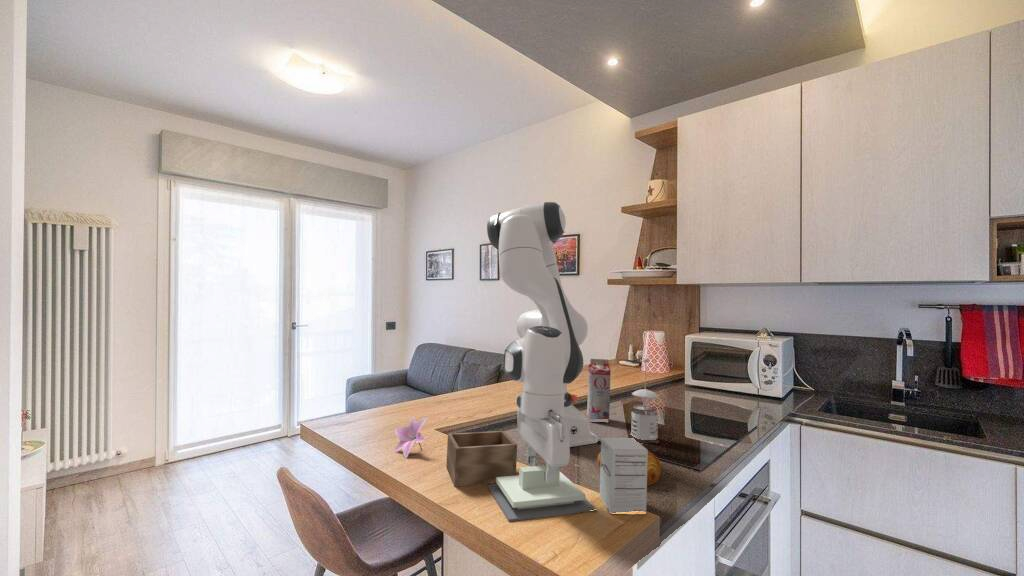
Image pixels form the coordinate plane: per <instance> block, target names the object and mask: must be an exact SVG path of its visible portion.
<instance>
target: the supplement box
mask: <svg viewBox="0 0 1024 576" xmlns="http://www.w3.org/2000/svg"><path fill="white" fill-rule="evenodd" d="M648 451H649V450H648V448H646V447H645V446H643V445H642V443H639V442H637V441H636V440H635V439H634V438H628V437H601V441H600V452H601V467H600V468H599V469H600V473H599V478H600V479H599V499H600V498H601V499H602V500H603V501H602V500H601V499H600V500H601V501H602V502H604V503H605V504H604V503H603V504H604V506H605V505H606V506H607V507H606V506H605V507H606V509H607V508H608V509H609V510H608V509H607V510H608V512H609V511H610V512H611V513H616V512H629V511H630V512H631V511H644V512H646V513H647V496H648V495H647V491H648V486H647V462H648ZM610 512H609V513H610Z"/></svg>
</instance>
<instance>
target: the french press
mask: <svg viewBox="0 0 1024 576" xmlns="http://www.w3.org/2000/svg"><path fill="white" fill-rule="evenodd" d="M642 362H643V363H645V368H644V371H645V372H644V388H643V389H637V390H634V391H633V392H631V394H632V396H634V397H636V398H640V399H642V403H643V404H635V405H633V406H632V408H633V410H631V423H630V424H631V425H630V427H631V428H630V429H631V430H630V431H631V432H630V435H632V436H633V437H635V438H637V439H641V440H656V439H657V438H659V437H658V436H659V435H658V434H659V433H658V431H659V427H658V426H659V414H658V412H656V411H657V410H658V409H657V408H656V407H655V406H651V405H649V404H648V405H646V402H647V403H649V402H650V400H652V399H653V400H655V399H658V398H659V397H660V396H659V395H658V393H656V392H655V391H652V390H649V389H647V387H646V386H647V385H646V380H647V363H650V360H649V358H643V359H642ZM645 412H646V415H645Z"/></svg>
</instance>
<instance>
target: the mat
mask: <svg viewBox="0 0 1024 576" xmlns="http://www.w3.org/2000/svg"><path fill="white" fill-rule="evenodd" d="M487 488H488V489H489V491H490V493H491V494H492V496H493V498H494V499H495V501H496V503H497V504H498V507H500V510H501V511H502V513H503V514H504V516H505V518H506V519H507V521H508V522H515V521H524V520H525V521H526V520H531V519H533V520H534V519H541V518H542V519H543V518H549V517H556V516H557V517H558V516H564V515H565V516H566V514H567V515H572V514H574V513H575V514H580V513H579V512H583V513H585V512H584V511H590V510H594V509H597V507H596V506H595V505H593V504H592V502H590V501H589V500H588V499H587V498H586V497H585V500H579V501H574V503H571V504H563V505H554V506H545V507H536V508H527V509H519V510H518V508H517V507H516V508H513V507H512V505H511V504H510V502H509V501H508V499H507V498H506V496H505V495H504V493H503V492H502V490H501V489H500V487H499V486H498V484H489V485H487ZM597 510H598V509H597Z"/></svg>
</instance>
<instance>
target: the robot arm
mask: <svg viewBox="0 0 1024 576" xmlns="http://www.w3.org/2000/svg"><path fill="white" fill-rule="evenodd" d="M566 224H567V223H566V216H565V213H564V211H563V209H562V208H561V205H559V204H558V203H557V202H555V201H546V202H545V201H544V203H535V204H526V205H522V206H520V207H517V208H514V209H509V210H506V211H504V212H498V213H495V214H493V215H491V216H490V218H489V219H488V220H487V224H486V233H487V234H486V235H487V238H488V240H489V242H490V244H491V247H493V248H495V249H496V250H498V265H499V274H500V277H501V279H502V281H503V282H504V284H506V286H507V287H509V288H510V289H511V290H513V291H514V292H516V293H518V294H521V295H523V296H526V297H528V299H530V300H531V301H532V302H533V303H534V304H535V306H536V307H537V309H532V310H528V311H524V312H523V313H521V314H520V315H519V317H518V319H517V320H516V321H517V322H516V331H517V335H518V336H519V337H520V338H519V339H517V340H513V341H511V342H510V343H509V344H508V345H507V347H506V348H505V349H504V354H503V370H504V373H505V374H506V375H507V376H508V377H509V378H510V379H511V380H512V381H515V382H519V383H523V385H522V390H521V394H519V395H516V397H515V405H516V407H517V413H516V414H517V416H516V418H517V432H518V436H519V438H520V439H521V440H523V442H524V443H525V449H526V454H527V455H526V456H527V464H528V465H529V467H532V466H538V456H537V455H539V456H540V457H541V458H542V459H543V460H544V461H545V465H546V466H547V469H546V472H544V480H545V482H546V483H547V484H553V483H554V482H555V474H556V472H557V470H558V468H559V467H567V466H568V465H569V463H570V458H571V455H570V454H571V449H570V448H572V447H573V448H574V447H579V446H586V445H591V444H597V442H598V443H599V438H598V436H597V435H596V434H595V433H593V432H592V431H591V424H590V421H589V420H588V418H587V416H586V415H585V414H583V413H582V412H581V411H580V410H579V409H578V408H576V407H575V406H574V405H573V404H572V402H573V403H577V402H578V401H579V397H578V396H577V395H575V394H571V393H570V392H567V391H568V390H567V389H568V387H567V386H568V385H569V384H571V383H573V381H574V382H575V380H576V379H577V378H578V377H579V375H580V374H581V373H582V371H583V368H584V357H583V356H584V355H583V353H582V350H581V348H580V345H582V344H583V343H584V342H585V340H586V338H587V336H588V332H589V331H588V330H589V328H588V323H587V320H586V318H585V317H584V316H583V315H582V314H581V313H580V312H579V311H577V310H576V309H575V308H574V306H573V305H572V304H571V302H570V300H569V299H568V297H567V295H566V292H565V291H564V287H563V285H562V281H561V276H560V271H559V267H558V262H557V261H558V260H557V256H556V252H555V248H554V246H553V245H554V244H556V243H557V240H559V239H561V238H562V236H563V235H564V233H565V228H566Z"/></svg>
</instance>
